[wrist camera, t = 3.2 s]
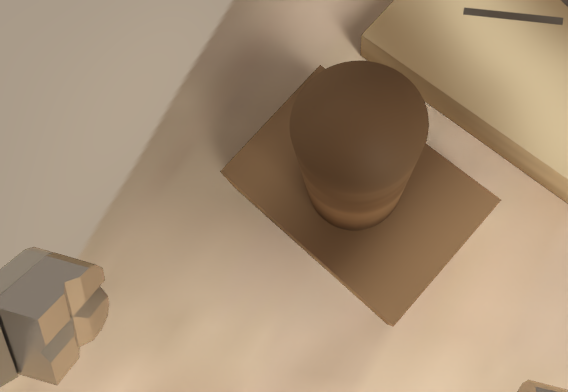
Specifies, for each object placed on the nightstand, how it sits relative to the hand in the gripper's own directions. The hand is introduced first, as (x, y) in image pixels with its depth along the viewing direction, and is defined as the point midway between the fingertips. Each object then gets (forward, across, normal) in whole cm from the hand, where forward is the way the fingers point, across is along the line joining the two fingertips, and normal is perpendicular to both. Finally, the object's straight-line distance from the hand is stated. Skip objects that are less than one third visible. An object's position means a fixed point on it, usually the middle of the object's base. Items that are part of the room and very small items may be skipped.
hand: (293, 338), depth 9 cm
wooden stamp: (+10, 0, +3) cm, 10 cm away
